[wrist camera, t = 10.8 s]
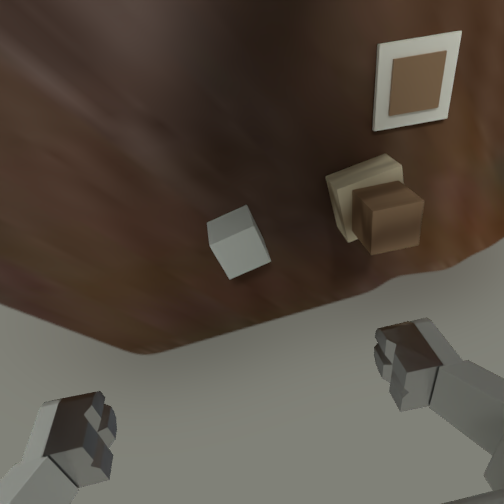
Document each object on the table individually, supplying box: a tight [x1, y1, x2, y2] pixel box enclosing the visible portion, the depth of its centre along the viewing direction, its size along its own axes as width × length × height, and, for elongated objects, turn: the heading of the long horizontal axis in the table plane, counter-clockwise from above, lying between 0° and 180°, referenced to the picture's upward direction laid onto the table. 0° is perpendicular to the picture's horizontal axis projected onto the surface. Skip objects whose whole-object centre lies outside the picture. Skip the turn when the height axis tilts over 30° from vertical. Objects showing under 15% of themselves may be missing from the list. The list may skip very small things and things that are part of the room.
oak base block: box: [325, 153, 404, 243], centre depth 41 cm, size 7×7×4 cm
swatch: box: [372, 31, 462, 131], centre depth 37 cm, size 8×8×1 cm
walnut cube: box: [352, 180, 424, 255], centre depth 38 cm, size 5×5×5 cm
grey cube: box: [207, 205, 271, 279], centre depth 41 cm, size 5×5×5 cm
